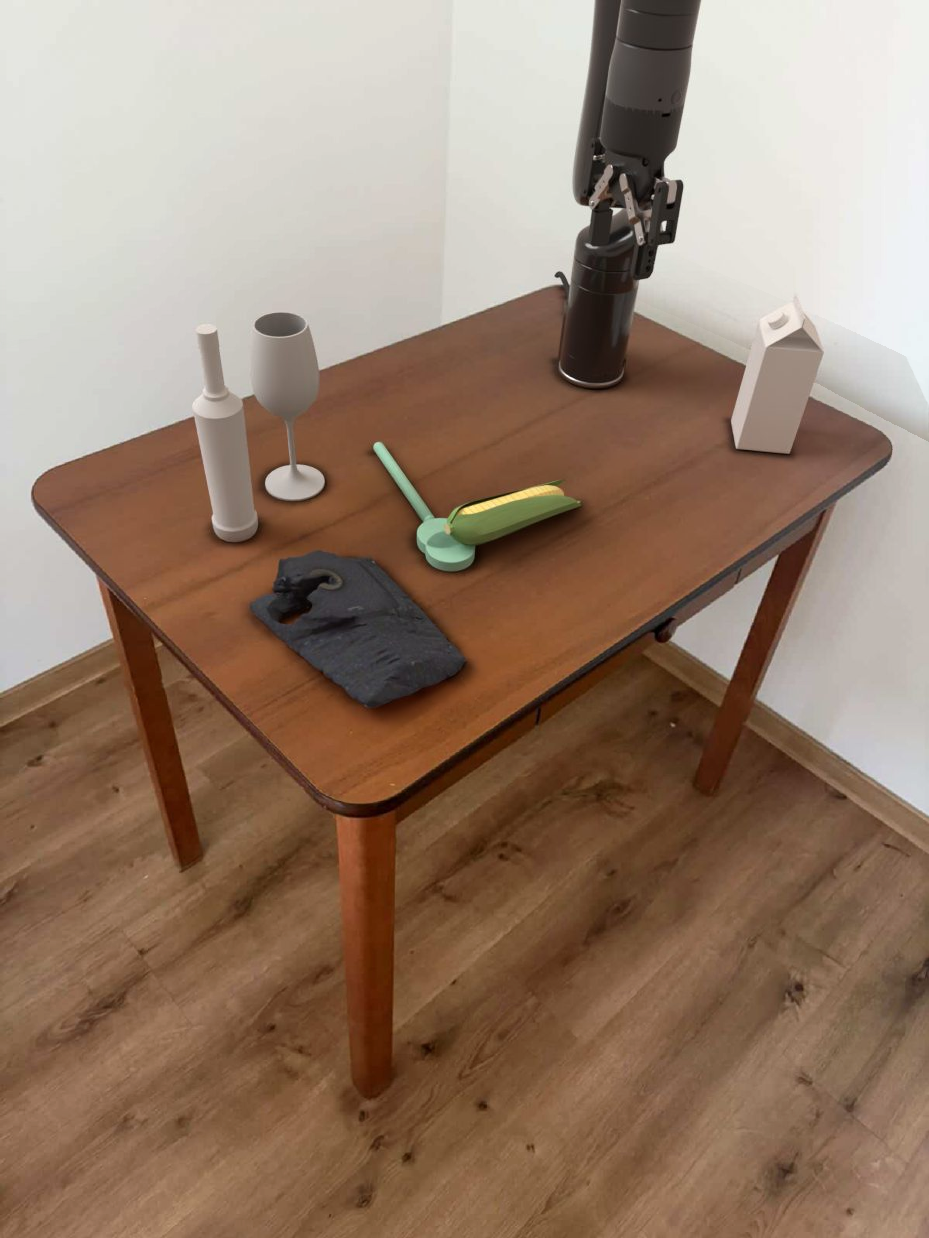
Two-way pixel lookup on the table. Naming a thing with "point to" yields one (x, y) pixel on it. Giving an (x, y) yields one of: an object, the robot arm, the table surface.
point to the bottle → (223, 446)
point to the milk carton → (777, 380)
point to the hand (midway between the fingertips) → (618, 261)
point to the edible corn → (506, 513)
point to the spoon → (429, 524)
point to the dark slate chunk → (357, 627)
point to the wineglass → (286, 391)
